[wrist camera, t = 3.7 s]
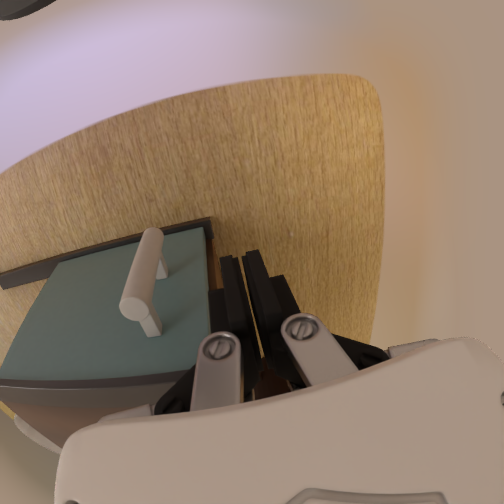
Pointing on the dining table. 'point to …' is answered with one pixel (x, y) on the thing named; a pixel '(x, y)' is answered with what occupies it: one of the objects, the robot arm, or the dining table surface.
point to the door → (118, 313)
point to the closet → (94, 390)
